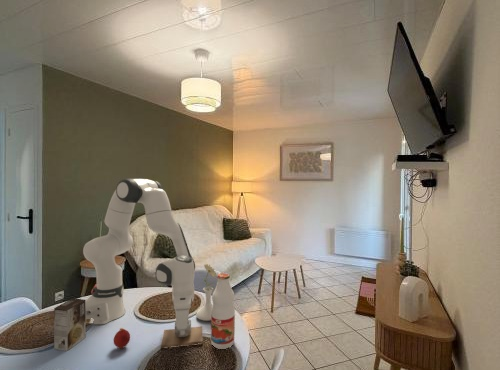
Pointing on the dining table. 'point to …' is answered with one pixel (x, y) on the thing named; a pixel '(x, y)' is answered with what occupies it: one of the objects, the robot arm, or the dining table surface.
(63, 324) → the coffee box
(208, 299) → the flower in vase
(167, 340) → the post board
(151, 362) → the dining table surface
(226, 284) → the fruit juice
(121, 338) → the onion
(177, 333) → the steel collar
